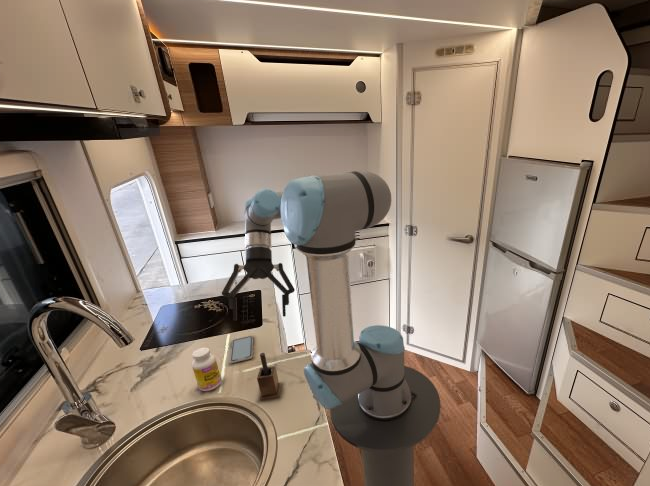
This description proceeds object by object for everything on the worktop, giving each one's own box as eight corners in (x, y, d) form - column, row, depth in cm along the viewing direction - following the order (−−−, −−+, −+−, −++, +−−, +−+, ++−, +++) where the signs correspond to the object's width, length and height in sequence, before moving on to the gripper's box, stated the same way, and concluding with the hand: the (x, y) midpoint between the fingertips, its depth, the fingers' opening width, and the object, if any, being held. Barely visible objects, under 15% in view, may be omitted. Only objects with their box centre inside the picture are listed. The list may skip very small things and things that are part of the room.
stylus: (273, 387, 98) (265, 352, 93) (272, 391, 97) (264, 355, 92) (268, 388, 98) (260, 352, 93) (267, 392, 97) (259, 355, 92)
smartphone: (252, 335, 126) (252, 356, 113) (253, 337, 126) (252, 358, 113) (232, 339, 124) (229, 362, 111) (233, 341, 124) (230, 364, 111)
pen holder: (281, 384, 101) (277, 364, 98) (279, 397, 96) (274, 376, 93) (263, 387, 100) (258, 367, 97) (259, 400, 95) (254, 379, 92)
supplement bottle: (206, 395, 98) (195, 361, 93) (195, 387, 101) (183, 354, 96) (226, 381, 103) (217, 349, 98) (214, 374, 107) (204, 343, 102)
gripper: (299, 251, 105) (302, 315, 101) (215, 252, 97) (215, 322, 93) (301, 245, 98) (304, 313, 94) (211, 245, 90) (210, 320, 86)
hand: (260, 318), depth 93 cm, fingers open, 13 cm apart
